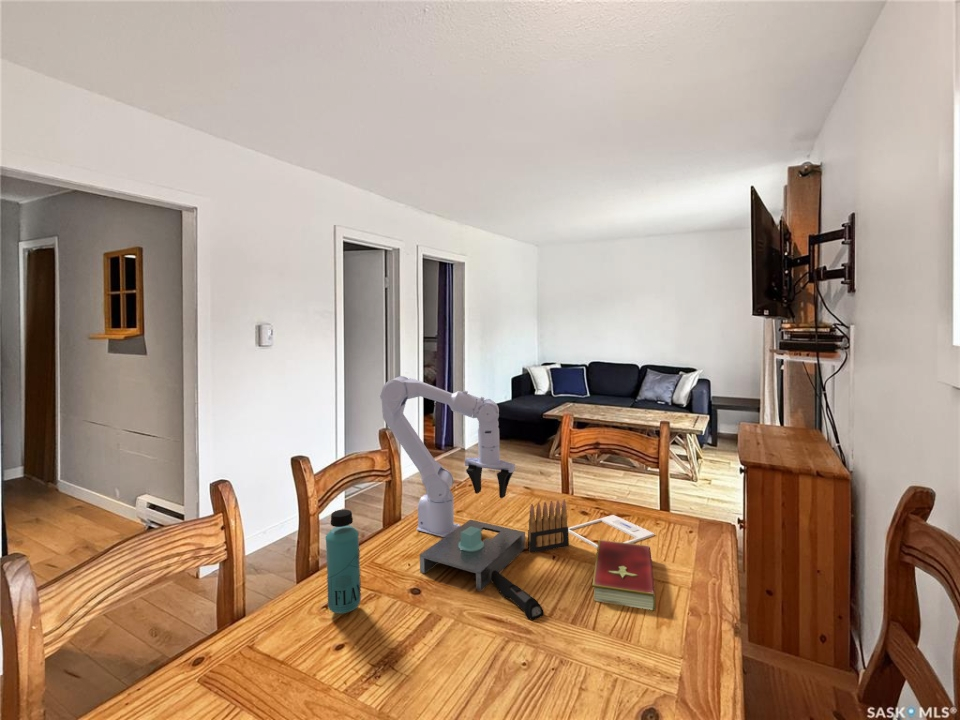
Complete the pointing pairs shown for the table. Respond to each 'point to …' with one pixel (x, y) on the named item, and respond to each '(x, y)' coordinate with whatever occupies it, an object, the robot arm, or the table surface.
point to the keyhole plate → (476, 552)
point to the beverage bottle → (343, 564)
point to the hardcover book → (624, 575)
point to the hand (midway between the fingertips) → (490, 494)
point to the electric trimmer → (517, 596)
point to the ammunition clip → (548, 528)
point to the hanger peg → (471, 540)
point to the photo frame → (618, 524)
